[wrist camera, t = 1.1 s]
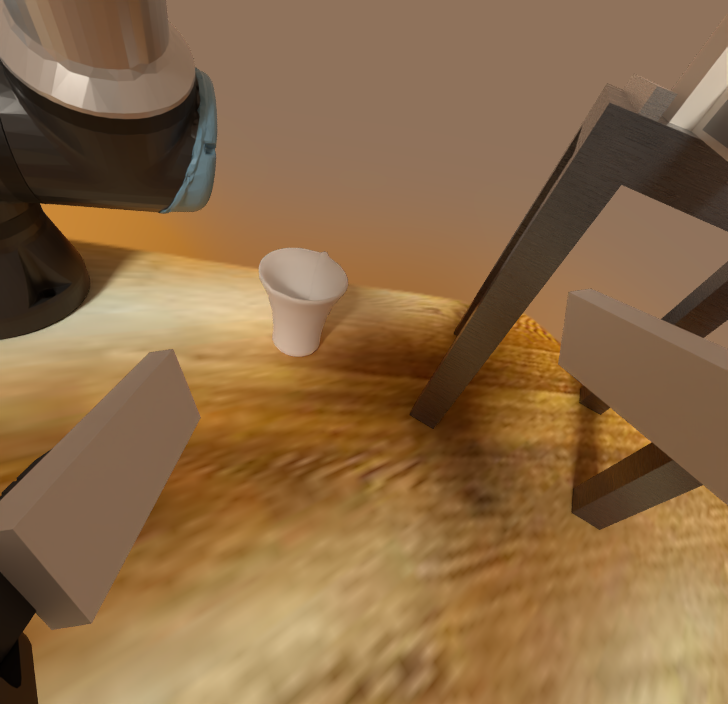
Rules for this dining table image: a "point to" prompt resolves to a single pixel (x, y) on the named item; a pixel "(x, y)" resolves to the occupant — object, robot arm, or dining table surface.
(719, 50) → the bar
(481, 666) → the dining table surface
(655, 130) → the rail stand
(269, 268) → the cup
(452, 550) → the dining table surface
